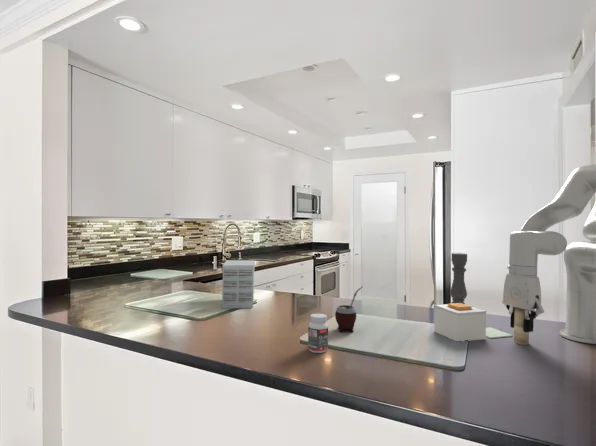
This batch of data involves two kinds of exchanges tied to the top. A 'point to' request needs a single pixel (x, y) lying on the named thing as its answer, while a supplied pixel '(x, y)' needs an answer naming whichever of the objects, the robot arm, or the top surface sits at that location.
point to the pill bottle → (318, 333)
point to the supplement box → (238, 284)
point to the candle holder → (458, 278)
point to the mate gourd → (346, 316)
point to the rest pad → (496, 333)
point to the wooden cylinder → (520, 327)
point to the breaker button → (459, 306)
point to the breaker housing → (460, 323)
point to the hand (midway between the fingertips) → (521, 328)
